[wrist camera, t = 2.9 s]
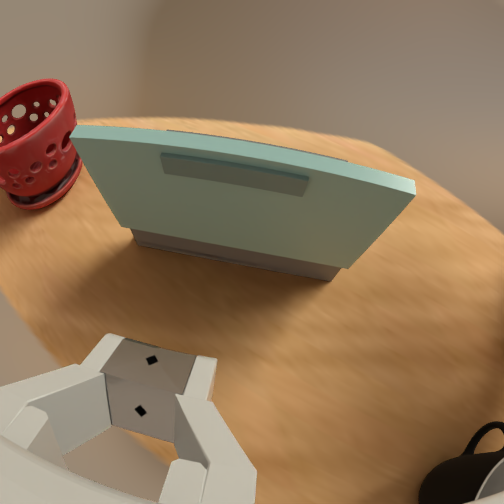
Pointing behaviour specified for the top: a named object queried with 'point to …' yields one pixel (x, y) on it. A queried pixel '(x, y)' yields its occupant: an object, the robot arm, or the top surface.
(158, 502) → the robot arm
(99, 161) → the lid
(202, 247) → the grey rectangular box
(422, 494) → the mug
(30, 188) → the plant pot
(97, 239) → the top surface
